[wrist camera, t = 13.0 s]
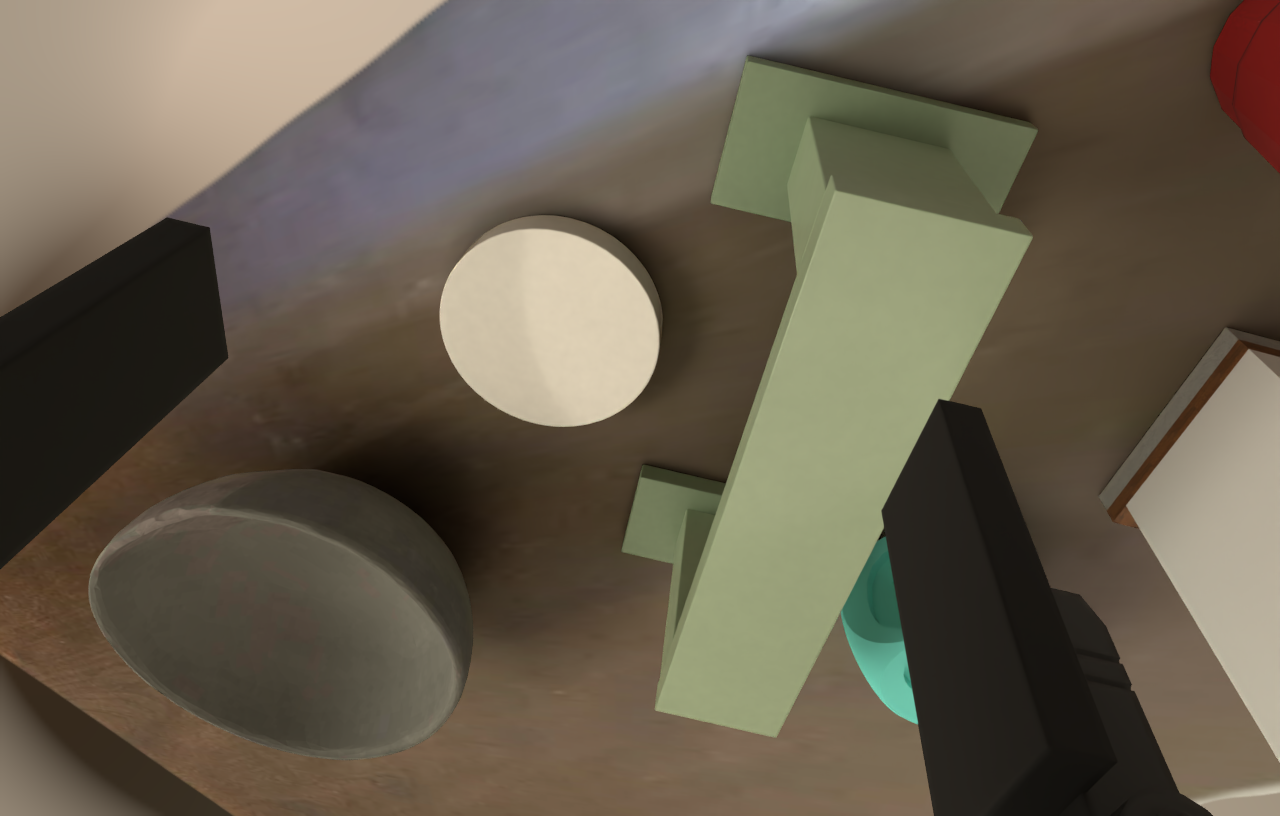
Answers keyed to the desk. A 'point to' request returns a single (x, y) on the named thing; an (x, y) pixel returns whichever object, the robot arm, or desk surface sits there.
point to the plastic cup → (1251, 74)
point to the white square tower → (1219, 510)
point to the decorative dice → (879, 633)
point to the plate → (552, 321)
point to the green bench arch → (828, 371)
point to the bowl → (291, 612)
